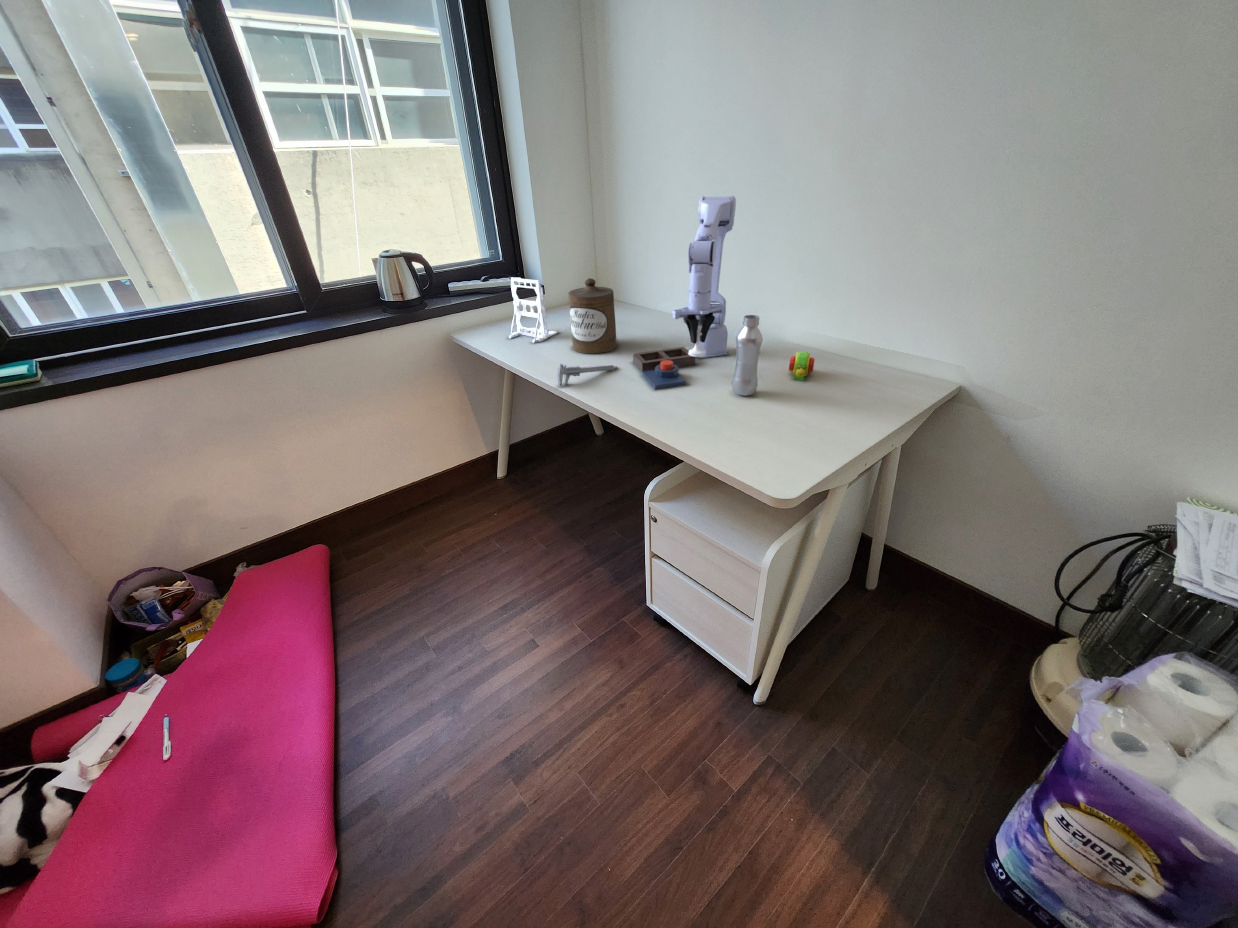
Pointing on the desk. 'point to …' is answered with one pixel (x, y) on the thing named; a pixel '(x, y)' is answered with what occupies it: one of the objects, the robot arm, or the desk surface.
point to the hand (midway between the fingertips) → (697, 342)
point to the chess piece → (697, 344)
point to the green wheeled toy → (801, 365)
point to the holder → (663, 358)
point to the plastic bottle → (747, 356)
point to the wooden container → (592, 318)
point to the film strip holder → (541, 315)
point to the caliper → (579, 371)
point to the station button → (666, 365)
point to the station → (664, 377)
